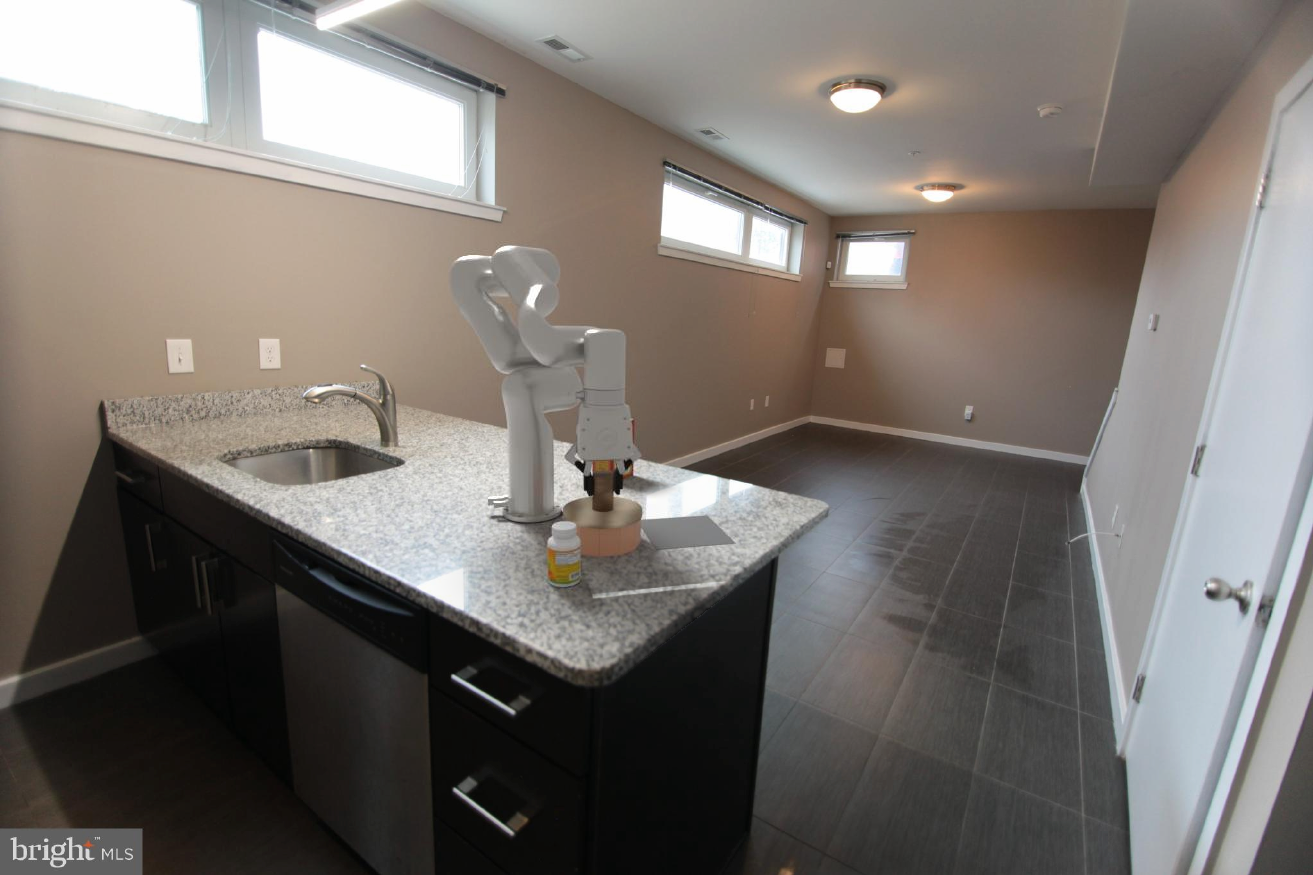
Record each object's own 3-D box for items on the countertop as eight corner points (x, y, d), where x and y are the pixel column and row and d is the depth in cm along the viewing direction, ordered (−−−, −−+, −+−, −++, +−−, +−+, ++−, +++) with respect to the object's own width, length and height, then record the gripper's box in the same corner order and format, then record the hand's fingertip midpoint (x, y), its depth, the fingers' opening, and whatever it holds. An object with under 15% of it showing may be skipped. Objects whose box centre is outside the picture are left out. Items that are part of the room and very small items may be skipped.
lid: (568, 531, 102) (568, 486, 101) (558, 504, 117) (558, 464, 115) (651, 525, 106) (652, 482, 105) (632, 499, 121) (633, 461, 119)
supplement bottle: (549, 573, 100) (548, 519, 98) (581, 573, 100) (581, 519, 98) (546, 588, 94) (545, 531, 92) (579, 588, 95) (580, 531, 93)
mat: (656, 552, 110) (656, 549, 109) (636, 522, 125) (636, 520, 124) (735, 545, 114) (735, 543, 114) (706, 517, 129) (707, 515, 129)
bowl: (570, 562, 104) (570, 530, 103) (562, 533, 118) (561, 504, 116) (647, 555, 108) (647, 524, 107) (630, 528, 121) (630, 500, 120)
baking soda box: (614, 471, 164) (615, 414, 160) (633, 475, 160) (634, 417, 157) (592, 478, 156) (592, 419, 153) (611, 483, 152) (612, 422, 149)
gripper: (559, 401, 101) (560, 502, 105) (654, 400, 106) (651, 497, 109) (555, 395, 108) (555, 490, 112) (644, 394, 113) (641, 485, 116)
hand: (603, 492), depth 111 cm, fingers open, 4 cm apart
